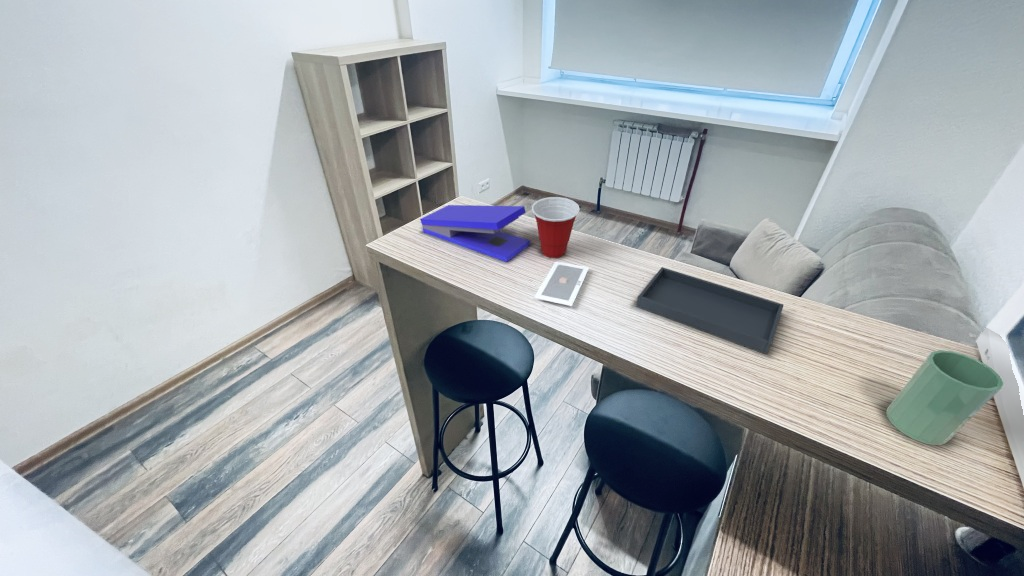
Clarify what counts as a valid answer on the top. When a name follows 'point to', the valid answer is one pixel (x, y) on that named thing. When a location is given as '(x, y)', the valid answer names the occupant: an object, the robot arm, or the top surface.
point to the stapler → (478, 228)
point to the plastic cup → (555, 224)
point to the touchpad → (562, 283)
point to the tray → (712, 308)
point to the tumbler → (942, 396)
